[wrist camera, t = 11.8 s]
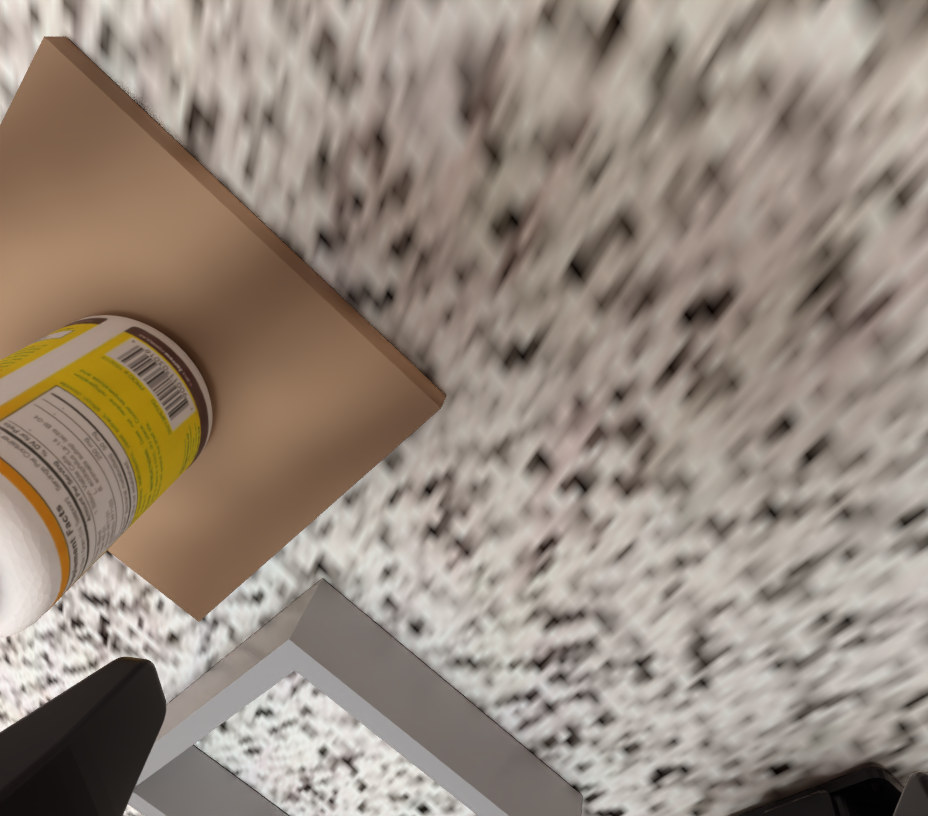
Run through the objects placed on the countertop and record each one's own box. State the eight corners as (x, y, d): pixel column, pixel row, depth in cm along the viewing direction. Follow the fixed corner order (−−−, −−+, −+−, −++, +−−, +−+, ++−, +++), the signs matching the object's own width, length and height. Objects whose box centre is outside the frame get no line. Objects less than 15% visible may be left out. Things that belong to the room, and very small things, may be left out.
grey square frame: (582, 795, 29) (578, 871, 26) (369, 890, 35) (349, 959, 32) (322, 578, 26) (288, 639, 23) (142, 724, 32) (100, 784, 30)
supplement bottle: (57, 430, 24) (-275, 662, 15) (61, 281, 21) (-343, 457, 12) (210, 489, 24) (-33, 758, 15) (234, 347, 21) (-47, 573, 12)
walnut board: (446, 396, 21) (440, 408, 21) (209, 606, 28) (198, 621, 27) (65, 36, 19) (43, 36, 18) (-101, 361, 25) (-122, 371, 24)
